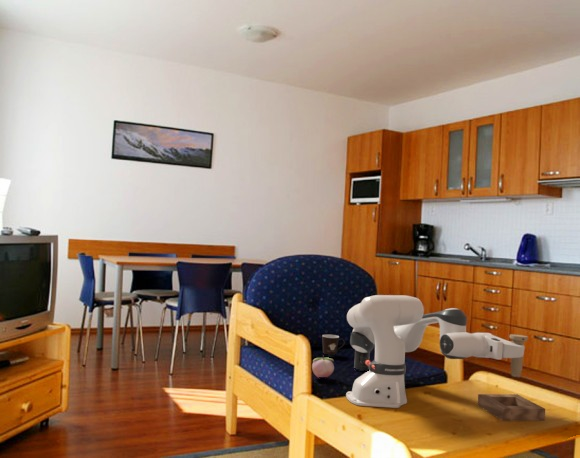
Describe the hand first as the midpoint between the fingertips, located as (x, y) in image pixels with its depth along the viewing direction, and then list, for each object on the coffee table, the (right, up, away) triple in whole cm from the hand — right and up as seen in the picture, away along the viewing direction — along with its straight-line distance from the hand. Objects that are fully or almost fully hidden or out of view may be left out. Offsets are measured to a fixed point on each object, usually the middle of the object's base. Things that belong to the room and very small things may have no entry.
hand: (519, 345), depth 188 cm
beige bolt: (-2, -11, -1) cm, 12 cm away
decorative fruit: (-72, -20, +26) cm, 79 cm away
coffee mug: (-63, -21, +68) cm, 96 cm away
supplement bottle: (-52, -21, +44) cm, 72 cm away
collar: (-6, -23, -5) cm, 24 cm away
